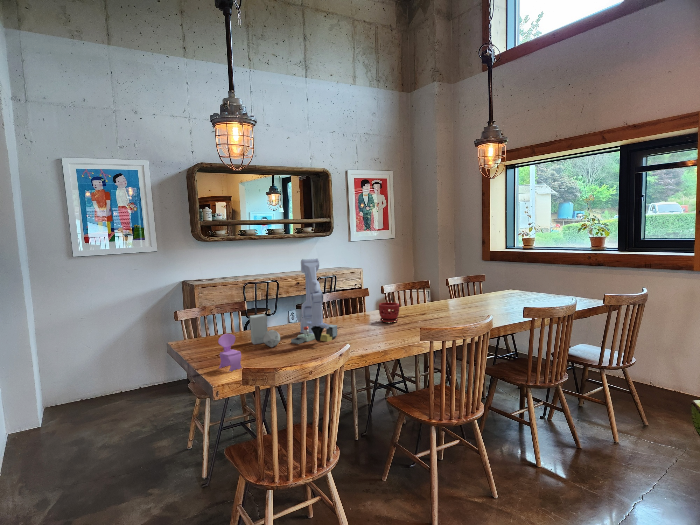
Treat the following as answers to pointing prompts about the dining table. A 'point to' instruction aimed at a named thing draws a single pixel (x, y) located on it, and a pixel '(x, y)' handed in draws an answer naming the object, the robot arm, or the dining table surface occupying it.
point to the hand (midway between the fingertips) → (318, 340)
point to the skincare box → (258, 328)
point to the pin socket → (297, 340)
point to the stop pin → (306, 331)
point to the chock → (325, 337)
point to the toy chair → (229, 353)
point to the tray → (307, 339)
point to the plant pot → (389, 315)
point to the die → (271, 338)
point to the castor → (332, 331)
